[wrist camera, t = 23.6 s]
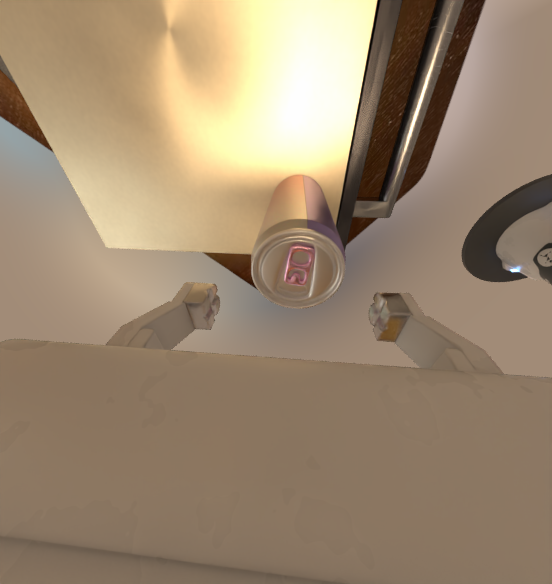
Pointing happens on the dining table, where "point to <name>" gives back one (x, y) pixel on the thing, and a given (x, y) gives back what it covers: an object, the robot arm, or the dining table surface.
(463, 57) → the dining table surface
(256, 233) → the oven
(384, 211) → the oven door
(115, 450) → the robot arm
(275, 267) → the beverage can
